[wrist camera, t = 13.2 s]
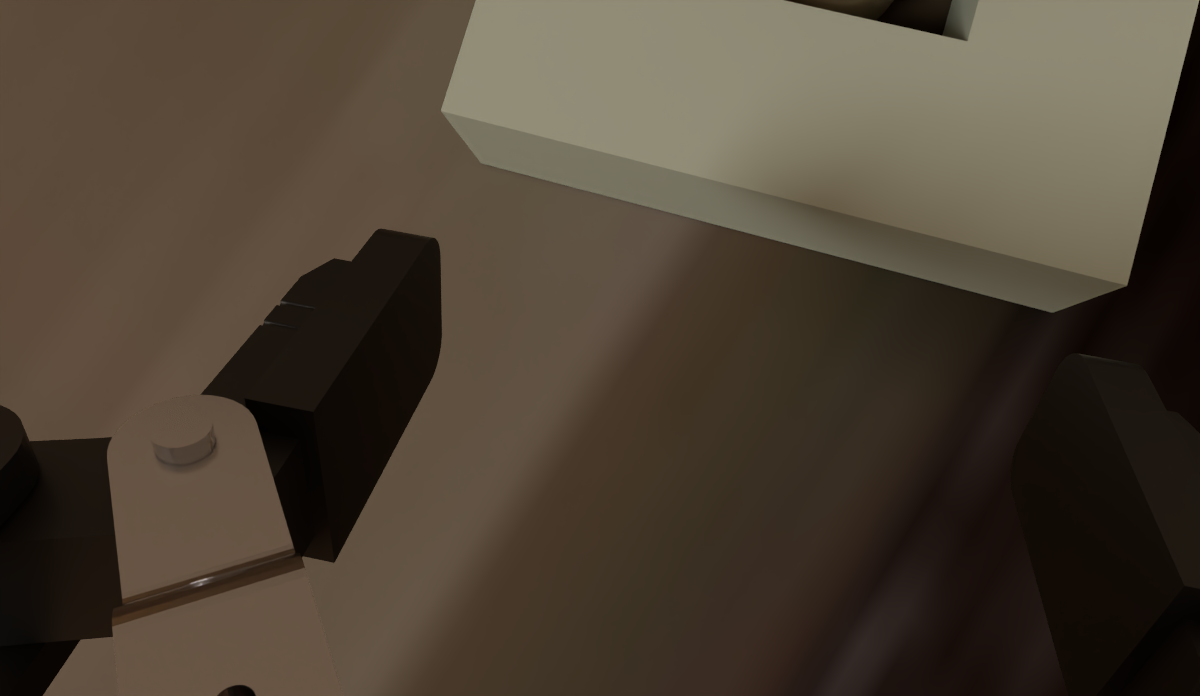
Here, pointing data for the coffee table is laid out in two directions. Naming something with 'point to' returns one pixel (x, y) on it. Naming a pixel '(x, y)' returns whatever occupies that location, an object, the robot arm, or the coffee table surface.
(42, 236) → the coffee table surface
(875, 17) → the peg
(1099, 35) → the white flat square block
